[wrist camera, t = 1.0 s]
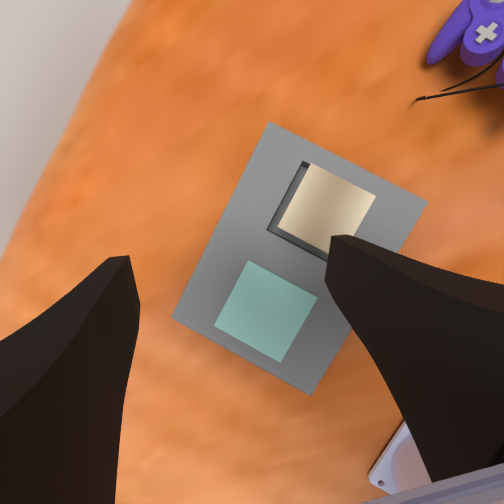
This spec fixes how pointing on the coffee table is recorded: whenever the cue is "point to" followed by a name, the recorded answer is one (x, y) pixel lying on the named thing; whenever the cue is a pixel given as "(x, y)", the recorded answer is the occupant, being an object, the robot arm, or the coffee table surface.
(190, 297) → the pocket board
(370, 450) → the coffee table surface
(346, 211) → the birch block
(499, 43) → the game controller
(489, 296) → the robot arm
